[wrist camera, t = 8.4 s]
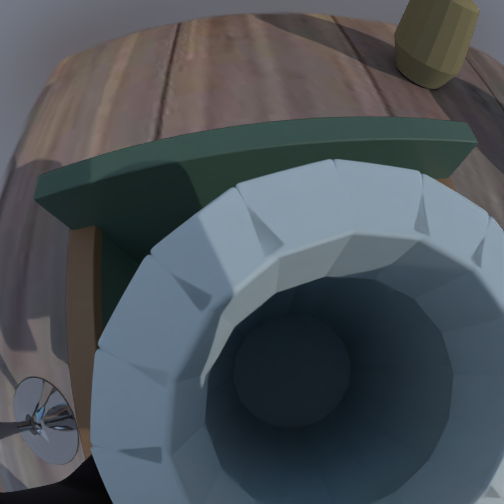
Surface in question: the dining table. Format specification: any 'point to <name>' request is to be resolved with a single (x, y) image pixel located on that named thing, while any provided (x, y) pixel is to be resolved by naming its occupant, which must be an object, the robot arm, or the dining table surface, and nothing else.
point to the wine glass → (43, 422)
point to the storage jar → (310, 348)
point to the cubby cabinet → (201, 201)
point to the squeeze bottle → (434, 40)
